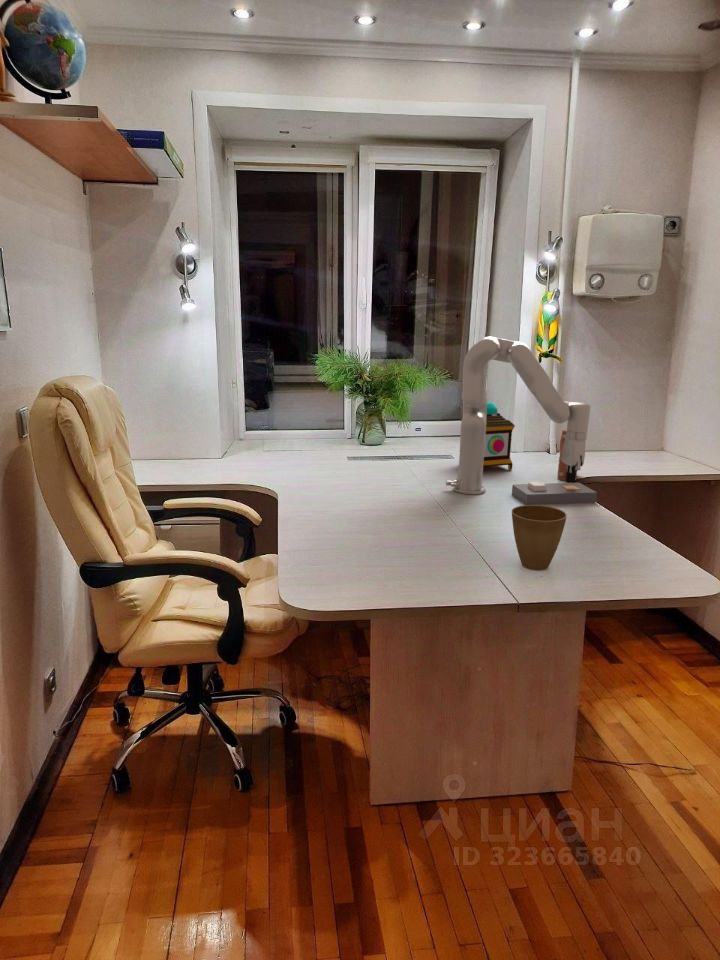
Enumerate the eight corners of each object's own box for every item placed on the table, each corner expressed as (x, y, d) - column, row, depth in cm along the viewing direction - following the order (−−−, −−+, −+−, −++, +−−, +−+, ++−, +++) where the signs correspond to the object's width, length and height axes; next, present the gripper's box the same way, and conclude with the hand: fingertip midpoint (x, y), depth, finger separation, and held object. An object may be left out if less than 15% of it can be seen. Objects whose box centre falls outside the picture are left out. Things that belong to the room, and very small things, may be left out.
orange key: (567, 496, 251) (568, 489, 250) (561, 493, 256) (562, 485, 255) (579, 496, 252) (580, 489, 251) (573, 492, 257) (573, 485, 256)
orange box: (554, 479, 281) (563, 472, 293) (571, 482, 277) (579, 474, 290) (559, 430, 275) (568, 425, 288) (576, 432, 272) (584, 426, 284)
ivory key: (533, 493, 248) (534, 485, 248) (527, 489, 253) (528, 482, 252) (545, 493, 249) (546, 485, 248) (540, 489, 254) (540, 481, 253)
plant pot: (551, 555, 195) (556, 504, 191) (568, 576, 180) (574, 521, 176) (501, 555, 194) (505, 504, 190) (514, 575, 180) (519, 520, 176)
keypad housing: (526, 504, 244) (527, 494, 243) (511, 494, 257) (512, 484, 256) (595, 502, 249) (597, 492, 248) (577, 492, 262) (579, 482, 261)
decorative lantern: (516, 471, 294) (522, 404, 286) (478, 474, 287) (483, 406, 279) (492, 461, 312) (496, 398, 304) (455, 464, 305) (459, 399, 297)
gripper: (558, 431, 254) (552, 477, 259) (576, 439, 240) (570, 487, 245) (575, 431, 256) (570, 476, 261) (595, 439, 241) (588, 487, 246)
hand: (570, 482), depth 253 cm, fingers closed
